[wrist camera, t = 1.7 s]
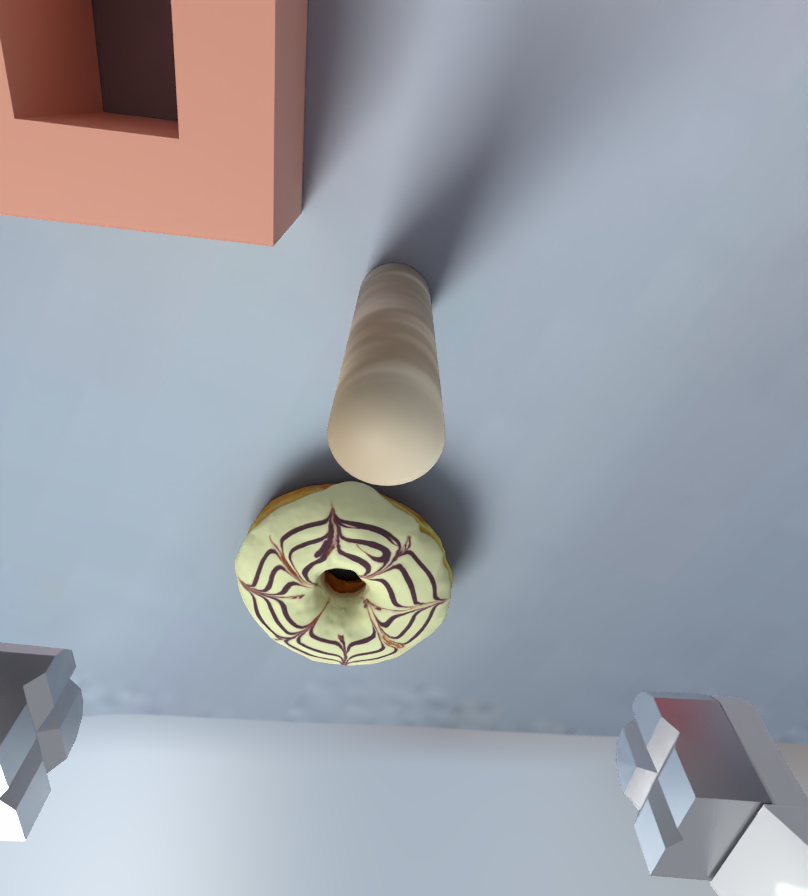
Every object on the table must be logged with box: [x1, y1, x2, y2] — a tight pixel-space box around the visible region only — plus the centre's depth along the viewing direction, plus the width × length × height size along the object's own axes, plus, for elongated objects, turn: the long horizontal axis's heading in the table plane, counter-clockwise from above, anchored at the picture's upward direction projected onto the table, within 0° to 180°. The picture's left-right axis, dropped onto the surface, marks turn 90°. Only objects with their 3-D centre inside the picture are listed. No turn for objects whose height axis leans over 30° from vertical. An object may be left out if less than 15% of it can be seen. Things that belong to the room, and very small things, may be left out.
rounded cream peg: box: [327, 263, 446, 486], centre depth 21 cm, size 3×3×12 cm
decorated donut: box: [235, 481, 452, 666], centre depth 32 cm, size 10×11×4 cm
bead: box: [0, 0, 308, 246], centre depth 19 cm, size 10×10×6 cm
